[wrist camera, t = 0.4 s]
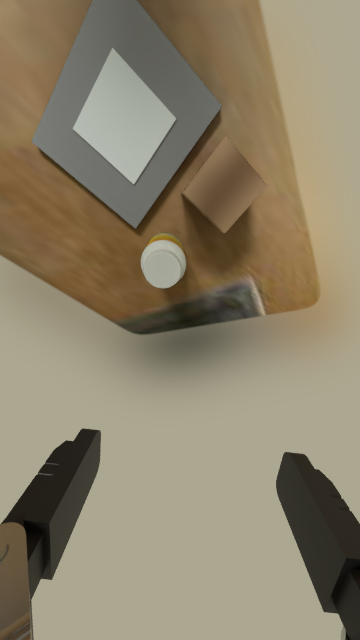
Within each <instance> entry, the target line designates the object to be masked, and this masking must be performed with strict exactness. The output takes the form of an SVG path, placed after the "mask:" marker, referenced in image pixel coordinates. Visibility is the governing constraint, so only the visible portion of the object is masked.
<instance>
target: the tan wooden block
mask: <svg viewBox="0 0 360 640" xmlns="http://www.w3.org/2000/svg"><path fill="white" fill-rule="evenodd" d="M266 186H267V184H266V183H265V182H264V180H263V179H262V178H261V177H260V176H259V174H258V173H257V172H256V171H255V170H254V169H253V167H252V166H251V165H250V164H249V163H248V161H247V160H246V159H245V158H244V157H243V155H242V154H241V153H240V152H239V151H238V149H237V148H236V147H235V146H234V145H233V143H232V142H231V141H230V140H229V139H228V137H227V136H225V137H224V139H223V140H222V141H221V142H220V143H219V144H218V145H217V147H216V148H215V149H214V150H213V151H212V153H211V154H210V156H209V157H208V158H207V160H206V161H205V162H204V164H203V165H202V166H201V168H200V169H199V170H198V172H197V173H196V174H195V176H194V177H193V178H192V180H191V181H190V182H189V184H188V185H187V186H186V188H185V189H184V191H183V192H182V193H181V194H182V195H183V196H184V197H185V198H186V199H187V200H188V201H189V202H190V203H191V204H192V205H193V206H194V207H195V208H196V209H197V210H198V211H199V212H200V213H201V214H202V215H203V216H204V217H205V218H207V219H208V220H209V221H210V222H211V223H212V224H213V225H214V226H215V227H216V228H217V229H219V230H220V231H221V232H223V233H224V234H225V233H226V232H227V231H228V229H229V228H230V227H231V226H232V225H233V224H234V223H235V221H236V220H237V219H238V218H239V217H240V216H241V215H242V214H243V212H244V211H245V210H246V209H247V208H248V207H249V206H250V205H251V203H252V202H253V201H254V200H255V199H256V198H257V197H258V196H259V194H260V193H261V192H262V191H263V190H264V189H265V188H266Z"/></svg>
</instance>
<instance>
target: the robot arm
mask: <svg viewBox="0 0 360 640" xmlns="http://www.w3.org/2000/svg"><path fill="white" fill-rule="evenodd" d="M100 441H101V432H100V430H92V429H82V430H80V432H79V433H78V435H77V437H76V438H75V440H74V441H65V442H64V443H62V444H61V445H60V446H59V447H57V448H56V449H55V450H54V451H53V452H52V454H51V455H50V457H49V458H48V459H47V461H46V462H45V465H43V466H42V468H41V469H40V471H39V472H38V475H36V476H35V478H34V479H33V480H32V482H31V483H30V485H29V486H28V487H27V489H26V490H25V492H24V493H23V495H22V496H21V497H20V499H19V500H18V502H17V503H16V504H15V506H14V507H13V509H12V510H11V511H10V513H9V514H8V516H7V517H6V518H5V520H4V521H3V522H2V523H1V524H0V640H34V639H33V622H32V605H31V599H32V597H33V595H34V593H35V590H36V588H37V586H38V584H39V581H40V579H49V580H52V578H53V576H54V573H55V571H56V569H57V566H58V564H59V562H60V559H61V557H62V555H63V552H64V550H65V548H66V545H67V543H68V541H69V538H70V536H71V534H72V531H73V529H74V526H75V524H76V522H77V519H78V517H79V515H80V512H81V510H82V507H83V505H84V503H85V500H86V498H87V496H88V493H89V491H90V489H91V486H92V484H93V482H94V479H95V477H96V474H97V471H98V467H99V463H100V443H101V442H100ZM276 488H277V494H278V497H279V500H280V502H281V505H282V507H283V510H284V512H285V515H286V517H287V520H288V523H289V525H290V528H291V530H292V533H293V535H294V538H295V540H296V542H297V545H298V548H299V550H300V553H301V555H302V558H303V560H304V563H305V566H306V568H307V571H308V573H309V576H310V578H311V581H312V583H313V586H314V588H315V591H316V593H317V596H318V598H319V601H320V603H321V605H322V608H323V611H324V612H329V613H338V614H339V616H340V618H341V621H342V623H343V625H344V626H343V629H342V633H341V640H360V524H359V522H358V521H357V519H356V518H355V516H354V515H353V513H352V512H351V511H350V510H349V507H348V506H347V504H346V503H345V501H344V500H343V499H342V498H341V495H340V494H339V492H338V491H337V489H336V488H335V486H334V485H333V483H332V482H331V481H330V480H329V479H328V478H327V477H326V476H325V475H324V474H323V473H322V472H321V471H320V470H316V469H314V467H313V466H312V464H311V463H310V461H309V460H308V458H307V456H306V455H304V454H298V453H290V452H285V453H284V455H283V458H282V462H281V465H280V469H279V472H278V476H277V480H276Z"/></svg>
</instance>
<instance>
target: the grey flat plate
mask: <svg viewBox="0 0 360 640" xmlns="http://www.w3.org/2000/svg"><path fill="white" fill-rule="evenodd" d="M221 107H222V105H221V104H220V103H219V102H218V100H217V99H216V98H215V97H214V95H213V94H212V93H211V92H210V90H209V89H208V88H207V87H206V85H205V84H204V83H203V82H202V80H201V79H200V78H199V77H198V75H197V74H196V73H195V72H194V71H193V69H192V68H191V67H190V66H189V64H188V63H187V62H186V61H185V59H184V58H183V57H182V56H181V54H180V53H179V52H178V51H177V49H176V48H175V47H174V46H173V44H172V43H171V42H170V41H169V39H168V38H167V37H166V36H165V34H164V33H163V32H162V31H161V29H160V28H159V27H158V26H157V24H156V23H155V22H154V21H153V19H152V18H151V17H150V16H149V14H148V13H147V12H146V11H145V9H144V8H143V7H142V6H141V4H140V3H139V2H138V1H137V0H92V3H91V5H90V7H89V10H88V12H87V14H86V17H85V19H84V21H83V24H82V26H81V28H80V31H79V33H78V35H77V37H76V40H75V42H74V44H73V47H72V49H71V51H70V54H69V56H68V58H67V61H66V63H65V65H64V68H63V70H62V72H61V74H60V77H59V79H58V81H57V84H56V86H55V88H54V91H53V93H52V95H51V98H50V100H49V102H48V105H47V107H46V109H45V111H44V114H43V116H42V118H41V121H40V123H39V125H38V128H37V130H36V132H35V135H34V137H33V139H32V143H34V144H35V145H36V146H37V147H38V148H40V149H41V150H42V151H43V152H44V153H45V154H47V155H48V156H49V157H50V158H51V159H53V160H54V161H55V162H56V163H57V164H59V165H60V166H61V167H62V168H63V169H65V170H66V171H67V172H68V173H69V174H71V175H72V176H73V177H74V178H75V179H77V180H78V181H79V182H80V183H81V184H83V185H84V186H85V187H86V188H87V189H89V190H90V191H91V192H92V193H93V194H95V195H96V196H97V197H98V198H99V199H100V200H102V201H103V202H104V203H105V204H106V205H108V206H109V207H110V208H111V209H112V210H114V211H115V212H116V213H117V214H118V215H120V216H121V217H122V218H123V219H124V220H126V221H127V222H128V223H129V224H130V225H132V226H133V227H134V228H135V229H136V228H137V226H138V225H139V224H140V222H141V221H142V219H143V218H144V216H145V215H146V214H147V212H148V211H149V209H150V208H151V207H152V205H153V204H154V202H155V201H156V199H157V198H158V197H159V195H160V194H161V192H162V191H163V190H164V188H165V187H166V185H167V184H168V182H169V181H170V180H171V178H172V177H173V175H174V174H175V173H176V171H177V170H178V168H179V167H180V165H181V164H182V163H183V161H184V160H185V158H186V157H187V156H188V154H189V153H190V151H191V150H192V148H193V147H194V146H195V144H196V143H197V141H198V140H199V139H200V137H201V136H202V134H203V133H204V131H205V130H206V129H207V127H208V126H209V124H210V123H211V122H212V120H213V119H214V117H215V116H216V114H217V113H218V112H219V110H220V109H221Z"/></svg>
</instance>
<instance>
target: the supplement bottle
mask: <svg viewBox="0 0 360 640" xmlns="http://www.w3.org/2000/svg"><path fill="white" fill-rule="evenodd" d="M141 268H142V271H143V274H144V275H145V277H146V279H147V281H148V282H149V283H150V284H151V285H153V286H155V287H157V288H169V287H171V286H173V285H174V284H176V282H178V281H179V280H180V279H181V278H182V276H183V275H184V272H185V269H186V258H185V253H184V248H183V245H182V243H181V242H180V240H179V239H178V238H177V237H175V236H174V235H172V234H169V233H160V234H157V235H155V236H154V237H153V238H152V239H151V240H150V241H149V243H148V244H147V246H146V248H145V250H144V251H143V254H142V257H141Z"/></svg>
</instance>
